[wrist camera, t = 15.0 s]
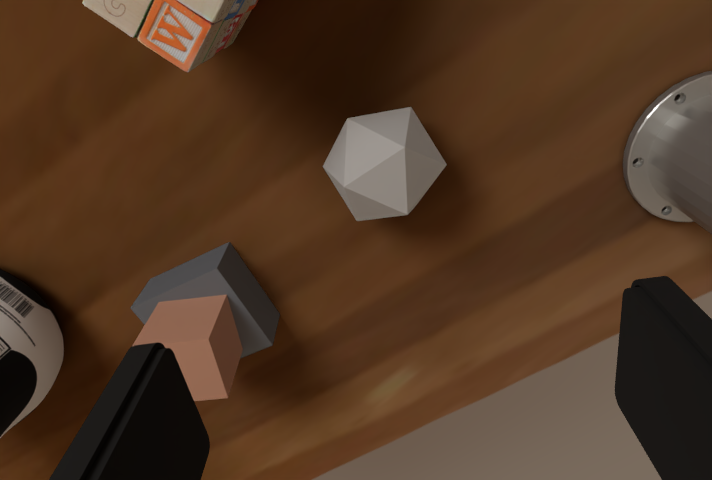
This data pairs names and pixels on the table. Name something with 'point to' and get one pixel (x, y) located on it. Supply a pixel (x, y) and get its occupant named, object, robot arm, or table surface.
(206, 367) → the terracotta cube
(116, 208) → the table surface
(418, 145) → the die
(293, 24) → the table surface
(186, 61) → the stack of blocks
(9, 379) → the milk container
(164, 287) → the charcoal block
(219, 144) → the table surface
